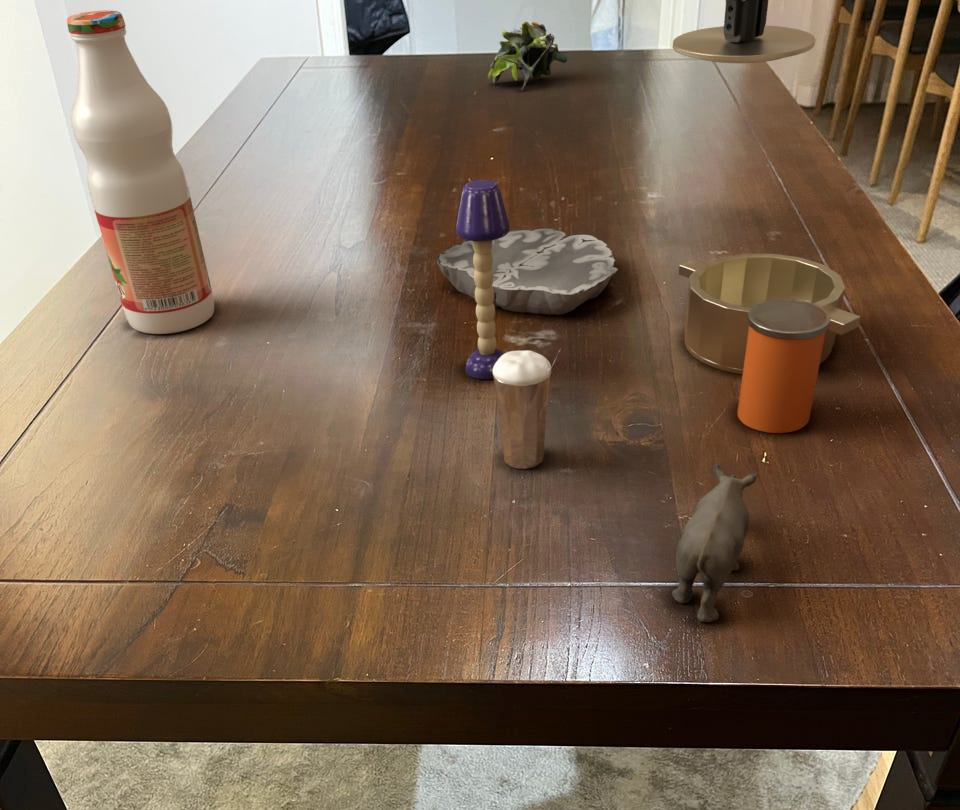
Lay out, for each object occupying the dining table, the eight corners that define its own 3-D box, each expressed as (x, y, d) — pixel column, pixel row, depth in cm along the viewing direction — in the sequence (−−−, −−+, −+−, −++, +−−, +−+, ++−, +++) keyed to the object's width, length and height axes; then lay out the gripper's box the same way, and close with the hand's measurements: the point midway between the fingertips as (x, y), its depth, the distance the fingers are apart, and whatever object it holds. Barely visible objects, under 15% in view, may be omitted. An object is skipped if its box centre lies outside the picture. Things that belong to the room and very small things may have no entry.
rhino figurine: (760, 515, 76) (771, 445, 72) (723, 628, 66) (734, 555, 62) (705, 505, 77) (714, 436, 73) (662, 616, 68) (669, 543, 64)
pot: (727, 293, 106) (734, 235, 102) (886, 352, 94) (901, 289, 90) (634, 333, 100) (638, 273, 96) (792, 401, 88) (803, 337, 84)
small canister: (767, 390, 90) (782, 292, 84) (827, 416, 86) (847, 315, 80) (719, 415, 87) (731, 315, 81) (778, 443, 83) (796, 340, 77)
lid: (735, 30, 116) (741, -33, 112) (843, 47, 107) (854, -21, 103) (643, 55, 109) (646, -12, 105) (750, 75, 100) (758, 3, 96)
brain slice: (649, 273, 111) (651, 246, 109) (571, 333, 101) (571, 304, 99) (500, 243, 120) (500, 217, 118) (414, 295, 109) (412, 268, 107)
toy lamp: (458, 361, 97) (446, 180, 86) (504, 353, 98) (498, 172, 87) (473, 383, 94) (462, 197, 82) (520, 374, 94) (516, 188, 83)
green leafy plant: (536, 113, 181) (576, 49, 174) (525, 117, 172) (568, 50, 165) (485, 72, 179) (524, 6, 173) (472, 74, 170) (512, 4, 164)
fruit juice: (181, 341, 103) (100, 28, 85) (109, 329, 106) (15, 24, 88) (233, 305, 110) (169, 6, 91) (163, 294, 113) (87, 3, 94)
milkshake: (552, 478, 81) (552, 362, 74) (489, 469, 82) (483, 355, 76) (567, 449, 84) (568, 336, 77) (506, 441, 85) (502, 329, 79)
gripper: (747, -163, 90) (726, 55, 102) (843, -177, 96) (814, 31, 108) (685, -164, 95) (672, 45, 106) (781, -177, 101) (759, 22, 112)
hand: (743, 37), depth 107 cm, fingers closed on lid, 2 cm apart
